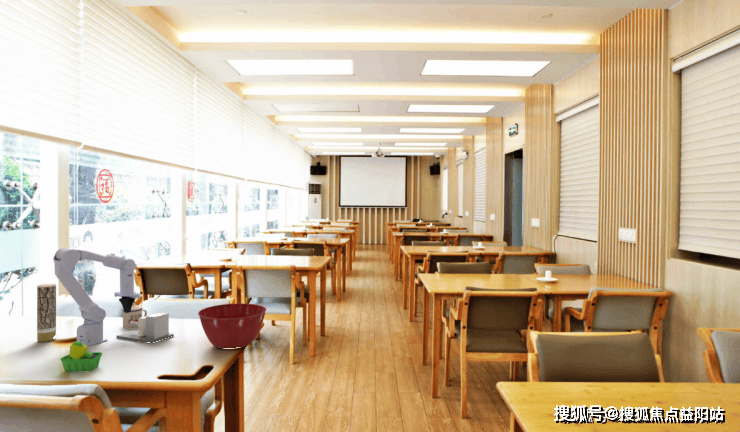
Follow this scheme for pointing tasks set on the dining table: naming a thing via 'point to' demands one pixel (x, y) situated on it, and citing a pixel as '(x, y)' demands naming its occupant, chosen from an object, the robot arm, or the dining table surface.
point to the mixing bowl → (232, 324)
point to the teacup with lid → (132, 316)
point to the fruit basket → (80, 358)
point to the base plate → (139, 337)
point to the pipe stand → (156, 325)
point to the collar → (142, 326)
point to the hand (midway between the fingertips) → (127, 312)
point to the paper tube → (46, 312)
